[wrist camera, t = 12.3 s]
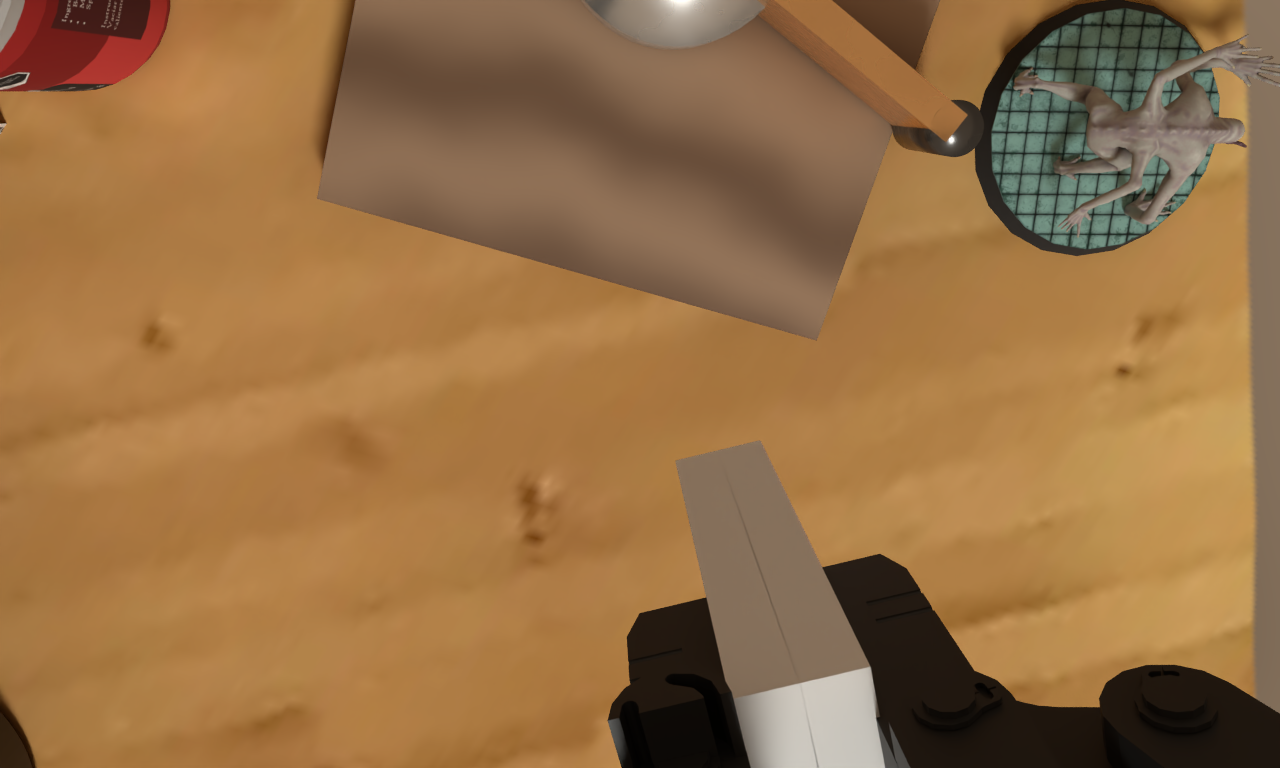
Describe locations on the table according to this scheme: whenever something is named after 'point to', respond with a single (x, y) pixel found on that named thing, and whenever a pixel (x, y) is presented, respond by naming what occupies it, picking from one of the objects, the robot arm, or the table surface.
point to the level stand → (617, 147)
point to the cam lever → (806, 15)
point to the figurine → (1103, 125)
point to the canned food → (76, 42)
